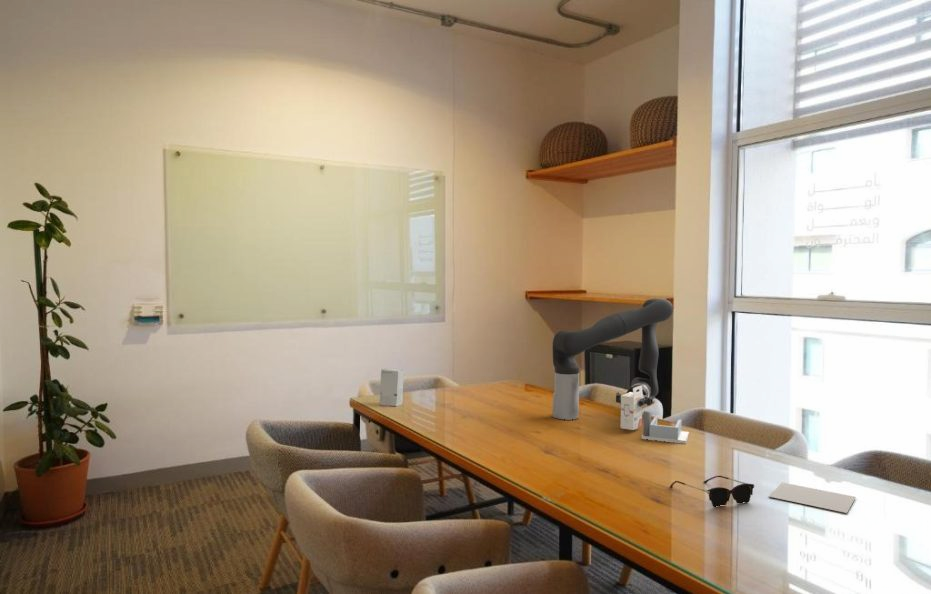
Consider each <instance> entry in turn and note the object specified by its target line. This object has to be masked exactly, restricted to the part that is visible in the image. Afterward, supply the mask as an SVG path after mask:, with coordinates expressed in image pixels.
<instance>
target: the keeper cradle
mask: <svg viewBox="0 0 931 594" xmlns="http://www.w3.org/2000/svg"><path fill="white" fill-rule="evenodd" d="M682 422H683V421H682V419H680V418H679V419H677V422H676V424H675V426H672V425H660V424H658V417H657V416H654V418H653V419H652V412H651V411H649V410H644V411H643V415H642V425H643V427H642V434H641V440H646V439H648V440H649V441H655V440H657V442H664V441H665V442H666V443H673V442H674V443H675V444H676V443H677V444H681V445H682V444H684V445H686V444H687V442H688V441H687V440H688V438H689V435H690V431H684V430H682ZM674 443H673V444H674Z"/></svg>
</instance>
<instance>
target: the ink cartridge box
mask: <svg viewBox="0 0 931 594" xmlns="http://www.w3.org/2000/svg"><path fill="white" fill-rule="evenodd" d="M637 389H638V390H639V391H638V392H636V390H637ZM626 393H627V392H626ZM626 393H624V394H621V405H620V429H624V430H630V431H634V430H637V429H638V428H640V427H642V425H643V406H641V407H639V400H640V399H642V398H643V393H642V385H641V386H638V387H635V388H633V392H629V393H627V394H626Z"/></svg>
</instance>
